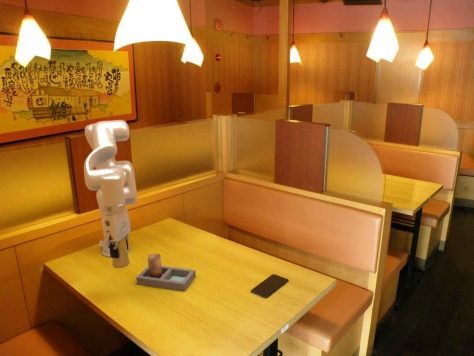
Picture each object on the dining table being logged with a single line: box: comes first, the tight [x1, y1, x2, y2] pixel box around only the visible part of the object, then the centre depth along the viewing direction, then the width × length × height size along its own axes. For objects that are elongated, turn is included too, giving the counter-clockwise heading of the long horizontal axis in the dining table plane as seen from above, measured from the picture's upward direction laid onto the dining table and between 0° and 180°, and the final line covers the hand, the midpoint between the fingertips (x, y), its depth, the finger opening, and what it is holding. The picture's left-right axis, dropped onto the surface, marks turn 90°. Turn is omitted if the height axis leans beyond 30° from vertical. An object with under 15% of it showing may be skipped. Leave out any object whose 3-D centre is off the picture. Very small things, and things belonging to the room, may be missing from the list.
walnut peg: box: [147, 253, 163, 278], centre depth 154 cm, size 5×5×10 cm
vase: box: [111, 237, 131, 269], centre depth 140 cm, size 6×6×14 cm
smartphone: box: [250, 273, 289, 299], centre depth 148 cm, size 8×1×16 cm
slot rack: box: [135, 265, 197, 292], centre depth 153 cm, size 20×11×3 cm, turn 74°
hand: (119, 253), depth 141 cm, fingers closed on vase, 5 cm apart
